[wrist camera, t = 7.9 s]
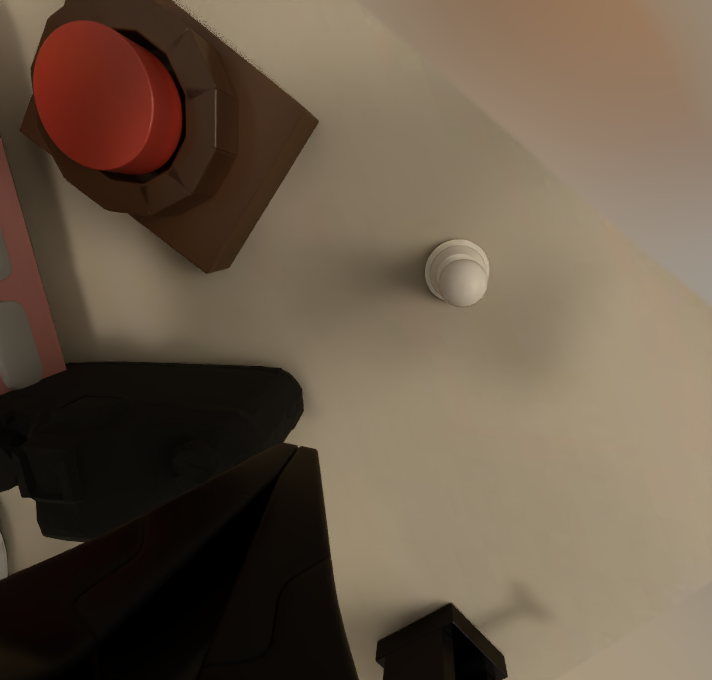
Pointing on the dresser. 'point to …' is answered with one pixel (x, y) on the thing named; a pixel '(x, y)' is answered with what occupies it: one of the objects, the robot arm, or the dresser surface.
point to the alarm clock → (22, 300)
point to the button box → (192, 135)
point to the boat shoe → (3, 559)
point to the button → (106, 99)
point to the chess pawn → (458, 272)
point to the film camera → (135, 436)
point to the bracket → (440, 650)
